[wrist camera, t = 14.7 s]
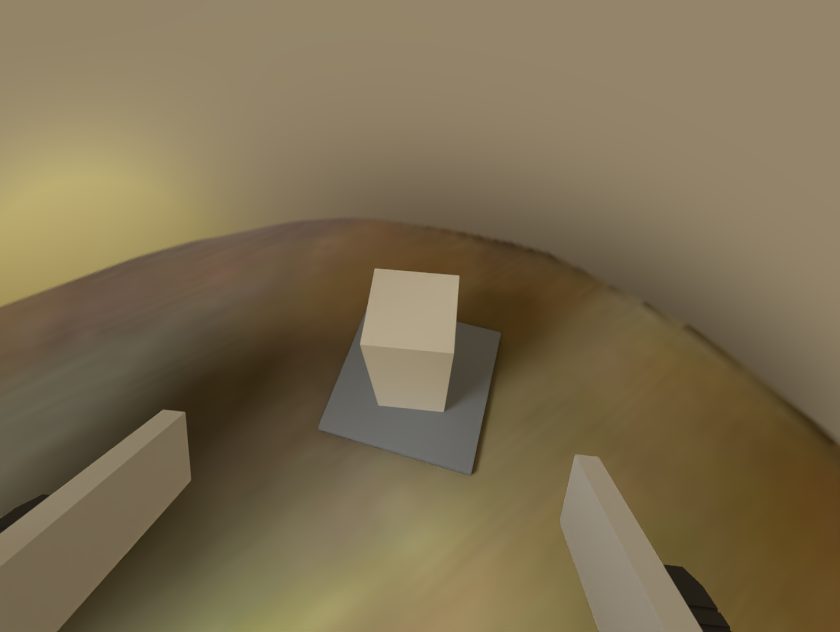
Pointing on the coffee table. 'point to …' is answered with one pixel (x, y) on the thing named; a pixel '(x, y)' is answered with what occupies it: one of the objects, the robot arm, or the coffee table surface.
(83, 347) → the coffee table surface
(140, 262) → the coffee table surface
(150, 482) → the robot arm
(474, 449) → the slate mat
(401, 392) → the cream block
